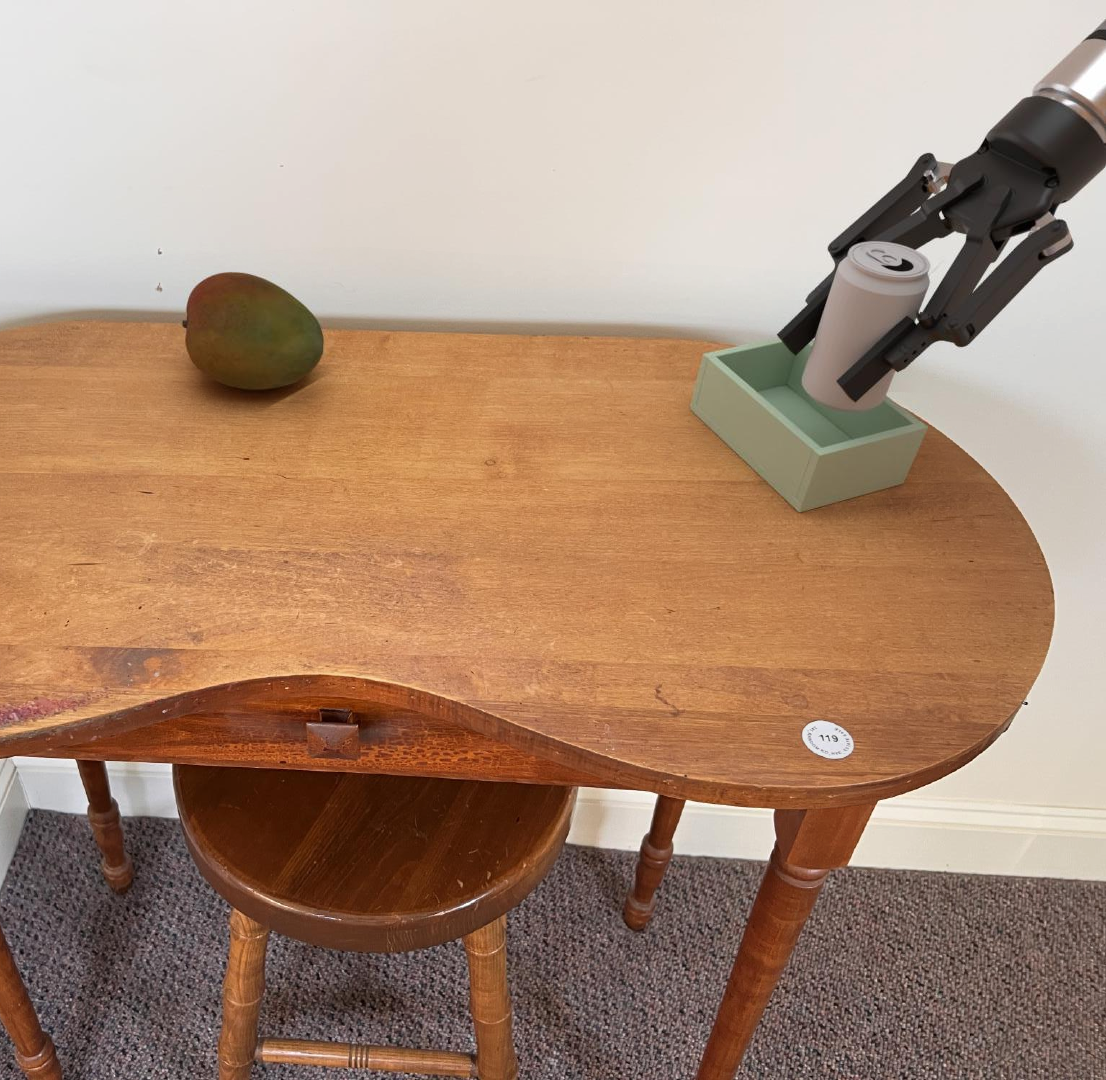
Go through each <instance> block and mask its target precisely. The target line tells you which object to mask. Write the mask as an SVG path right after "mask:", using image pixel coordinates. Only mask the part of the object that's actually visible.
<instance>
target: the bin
mask: <svg viewBox="0 0 1106 1080" xmlns="http://www.w3.org/2000/svg"><path fill="white" fill-rule="evenodd" d="M813 342H814V339H813V340H812V341H811V342H810V343H809V344H808V345H806V346H805V347H804V348H803V349H802V350H801V351H800V352H799V353H798V354H797V355H796V356H795V355H794V354H793V353H792V352H790V351H789V349H788V348H787V347H786V346H785V344H784V343H783V342H782V341H781V340H780V338H779V337H778V336H777V337H774V338H769V339H764V340H759V341H755V342H750V343H747V344H746V343H745V344H742V345H737V346H733V347H728V348H723V349H719V350H715V351H710V352H705V353H702V357H701V361H700V365H699V369H698V373H697V377H696V380H695V385H694V389H693V392H692V396H691V397H692V398H691V401H690V405H689V410H690V411H691V412H692V413H693V414H695V416H697V418H698V419H700V420H701V421H702V422H703V423H704V425H706V426H707V427H708V428H709V429H710V430H711V431H712V432H714V434H715V435H716V436H718V438H720V440H722V441H723V443H725V444H726V445H727V446H728V447H729V448H730V449H731V450H732V451H733V452H734V453H735V454H736V455H738V457H740V458H741V459H742V460H743V461H744V462H745V463H746V464H747V465H748V467H750V468H751V469H752V470H753V471H754V472H755V473H756V474H757V475H759V476H760V477H761V478H762V479H763V480H764V481H765V482H766V483H767V484H768V485H769V486H770V487H771V488H773V490H774V491H776V492H777V493H778V495H780V496H781V498H783V499H784V500H785V501H786V502H787V503H788V504H789V505H791V507H792V508H793V509H794V510H795V511H796V512H798V513H803V512H807V511H811V510H814V509H818V508H821V507H826V506H828V505H832V504H835V503H839V502H842V501H846V500H849V499H854V498H858V497H860V496H864V495H868V494H872V493H875V492H878V491H882V490H885V489H889V488H893V487H896V486H901V485H903V484H904V482H905V481H906V478H907V476H908V474H909V472H910V469H911V467H912V465H913V463H914V461H915V458H916V456H917V454H918V452H919V449H920V447H921V445H922V443H923V440H924V438H925V436H926V433H927V431H928V429H929V426H927V424H925V423H924V422H922V421H920V419H918V418H916V416H915V415H913V414H911V413H910V412H909V411H907V409H905V408H904V407H902V406H901V405H900V404H898V403H897V402H895V401H894V400H893V399H891V398H890V397H889V396H888V395H886V396H885V399H884V400H883V402H882V403H881V404H880V405H878V406H876V407H874V408H872V409H868V410H866V411H864V412H860V413H843V412H838V411H834V410H831V409H828V408H826V407H824V406H822V405H820V404H819V403H817V402H816V401H815V400H813V399H812V397H811V396H810V395H809V394H808V393H807V392H806V391H805V389H804V388H803V385H802V376H803V373H804V370H805V367H806V364H807V361H808V358H809V355H810V351H811V348H812V345H813Z"/></svg>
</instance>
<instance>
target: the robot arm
mask: <svg viewBox="0 0 1106 1080" xmlns="http://www.w3.org/2000/svg"><path fill="white" fill-rule="evenodd" d="M1105 168H1106V18H1105V19H1104V20H1103V21H1102V22H1101V23H1100V24H1099V25H1098V26H1097V27H1096V28H1095V29H1094V30H1093V31H1092V32H1091V33H1090V34H1089V35H1087V37H1085V38H1084V39H1083V40H1082V41H1081V42H1080V43H1079V44H1077V45H1076V46H1075V48H1073V49H1072V50H1071V51H1070V52H1069V53H1068V54H1067V55H1066V56H1065V57H1063V58H1062V60H1060V62H1058V64H1056V65H1055V66H1054V67H1053V68H1052V69H1051V70H1050V71H1049V72H1048V73H1046V75H1045V76H1043V78H1042V79H1040V80H1039V81H1038V82H1037V83H1036V84H1035V85H1034V86H1033V88H1032V90H1031V96H1027V97H1023V98H1022V99H1020V101H1019V102H1018V103H1016V105H1014V107H1012V108H1011V109H1010V110H1009V111H1008V112H1007V113H1006V114H1005V115H1004V116H1003V117H1002V118H1001V119H1000V120H999V121H997V123H996V124H995V125H994V126H993V127H992V128H991V129H989V131H988V132H987V134H986V135H985V137H984V138H983V141H982V143H981V144H980V146H979V147H978V149H977V150H976V151H974V152H973V153H971V154H970V155H968V156H966V157H964V158H962V159H960V160H958V161H957V162H956V163H950V162H943V161H938V160H937V159H936V157H935V155H934V154H933V153H932V152H925V153H923V154H922V155H920V156H919V157H918V158H917V160H916V161H915V163H914V164H913V166H912V167H911V169H910V170H909V171H908V173H907V174H906V176H905V177H904V178H903V179H902V180H901V181H899V182H898V183H897V184H896V185H895V186H894V187H892V188H891V189H890V190H889V191H888V192H887V193H885V195H883V196H882V197H881V198H880V199H879V200H877V202H875V203H874V204H873V205H872V206H871V207H869V208H868V210H866V211H865V212H864V213H862V215H861V216H860V217H858V218H857V219H856V220H855V221H854V222H853V223H851V224H850V225H849V226H848V227H847V228H846V229H845V230H843V231H842V232H841V233H840V234H839V235H838V236H836V237H835V238H834V239H833V240H832V241H831V242H830V243H829V244H828V245H827V251H828V253H829V254H830V257H831V259H832V261H833V262H834V267H833V269H832V271H831V272H830V273H829V274H828V275H827V276H826V277H825V278H824V279H823V280H822V281H821V282H820V283H819V284H818V285H817V286H816V287H815V288H813V290H811V291H810V293H808V294H807V296H806V298H805V300H804V301H805V303H806V306H805V307H803V308H802V309H801V310H800V311H799V312H798V313H797V314H796V315H795V316H794V317H793V318H792V319H791V320H789V322H788V323H787V324H786V325H785V326H784V327H783V328H781V330H780V331H779V332H778V333H777V334H776V336H777V338H778V337H779V338H780V340H781V341H782V342H783V343H784V344H785V346H786V347H787V348H788V349H789V351H790V352H792V353H793V354H794V355H795V356H796V355H797V354H798V353H799V352H800V351H801V350H802V349H803V348H804V347H805V346H806V345H808V344H809V343H810V342H811V341H812V340H814V339H815V336H816V333H817V330H818V327H819V324H820V321H821V318H822V314H823V311H824V308H825V305H826V302H827V299H828V296H829V293H830V290H831V287H832V284H833V281H834V277H835V274H836V271H837V268H838V265H839V263H840V262H841V261H842V260H843V259H844V258H846V257H847V255H848V252H849V249H850V248H851V247H852V246H854V245H856V244H858V243H862V242H870V241H880V242H889V243H895V244H899V245H903V246H906V247H909V248H911V249H914V250H916V251H917V250H918V249H920V248H922V247H923V246H925V245H926V244H928V243H930V242H931V241H933V240H935V239H944V238H946V237H948V236H950V235H951V234H953V233H957V234H961V235H965V242H964V244H963V246H962V247H961V248H960V250H959V252H958V254H957V255H956V257H955V259H954V260H953V261H952V264H950V267H949V268H948V270H947V271H946V273H945V275H944V276H943V277H942V279H941V281H940V282H939V284H938V286H937V288H936V289H935V291H934V292H933V294H932V296H931V297H930V299H929V300H928V302H927V304H926V305H925V307H924V308H923V310H922V311H919V312H918V311H916V314H915V315H916V320H917V321H918V322H917V323H916V320H915V321H914V320H913V319H911V318H910V317H908V316H906V317H905V318H904V319H902V320H901V321H900V322H899V323H898V324H896V325H895V326H894V327H893V328H892V329H891V330H890V331H889V332H888V333H887V334H886V335H885V336H884V337H883V338H882V339H880V340H879V341H878V342H877V343H876V344H875V345H874V346H873V347H872V348H871V349H870V350H869V351H868V352H867V353H865V354H864V355H863V356H862V357H861V358H860V359H859V360H858V361H857V362H856V363H855V364H854V365H853V366H852V367H851V368H849V369H848V370H847V371H846V372H845V373H844V374H843V375H842V376H841V377H840V378H839V379H838V380H837V381H836V382H837V383H838V384H839V386H840V387H841V388H842V389H843V391H844V392H845V393H846V395H847V396H848V397H849V398H850V399H851V400H853V401H854V402H855V403H856V402H857V401H858V400H859V399H860V398H861V397H862V396H863V395H864V394H865V393H866V392H868V391H869V390H870V389H871V388H872V387H873V386H874V385H875V384H876V383H877V382H878V381H879V380H881V379H882V378H883V377H884V376H885V375H886V374H887V373H888V372H889V371H890V370H891V369H894V370H895V373H899V372H901V371H903V370H905V369H906V368H908V367H909V366H910V365H911V364H912V363H913V362H914V361H915V360H916V359H917V358H918V357H919V356H921V355H922V354H923V353H924V352H925V351H926V350H927V349H928V348H929V347H931V345H933V344H934V343H936V342H947V343H951V344H954V346H956V348H957V347H958V348H965V347H968V345H970V344H971V343H972V342H973V341H974V340H975V339H976V338H977V337H978V336H979V335H980V334H981V333H982V332H983V330H985V329H986V327H987V326H988V325H989V324H990V323H991V322H992V321H993V320H994V319H995V318H996V317H998V315H999V314H1000V313H1001V312H1002V311H1003V310H1004V308H1006V307H1007V306H1008V305H1009V304H1010V303H1011V302H1012V301H1013V300H1014V298H1015V297H1017V295H1018V294H1019V293H1020V292H1021V291H1022V290H1023V289H1024V288H1025V287H1026V286H1027V285H1028V284H1029V283H1030V282H1031V281H1032V280H1033V279H1034V278H1035V277H1036V276H1037V275H1038V273H1040V271H1041V270H1043V268H1044V267H1045V266H1047V265H1049V264H1051V263H1053V262H1054V261H1056V260H1057V259H1059V258H1061V257H1062V256H1064V255H1066V254H1067V253H1069V252H1070V251H1071V250H1072V249H1073V248H1074V245H1075V242H1074V240H1073V237H1072V234H1071V231H1070V229H1069V226H1068V223H1067V222H1066V220H1064V219H1061V218H1058V219H1057V218H1056V217H1055V215H1056V212H1057V209H1058V208H1059V207H1060V206H1061V205H1062V204H1065V203H1068V202H1070V201H1071V200H1072V199H1073V198H1074V197H1075V196H1076V195H1077V194H1078V193H1079V192H1081V191H1082V190H1083V189H1084V188H1085V187H1086V186H1087V185H1088V184H1089V183H1090V182H1091V181H1093V179H1095V178H1096V177H1097V176H1098V175H1099V174H1100V173H1101V172H1102V171H1103V170H1104V169H1105ZM945 185H946V187H945V188H944V189H941V188H942V187H943V186H945ZM932 194H933V196H932ZM940 214H942V215H943V216H942V217H943V218H942V217H941V215H940ZM1025 233H1028V234H1027V236H1026V237H1025V238H1024V239H1023V240H1021V241H1020V242H1019V244H1017V245H1016V246H1015V247H1014V248H1013V249H1012V250H1011V251H1010V252H1009V254H1008V255H1006V257H1005V258H1004V259H1002V261H1001V262H1000V263H999V264H998V265H997V266H996V267H995V268H994V269H993V270H992V271H991V272H990V273H989V274H988V276H987V277H986V278H985V279H983V281H982V282H981V283H980V281H981V280H982V278H983V276H984V275H985V274H986V272H987V270H988V268H989V267H990V266H991V264H994V263H996V262H997V260H998V259H999V257H1000V256H1001V254H1002V253H1003V251H1004V249H1005V248H1006V246H1007V244H1008V243H1009V241H1010V240H1011V238H1014V237H1016V236H1019V235H1022V234H1025ZM979 283H980V284H979Z"/></svg>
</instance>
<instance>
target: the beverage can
mask: <svg viewBox="0 0 1106 1080" xmlns="http://www.w3.org/2000/svg"><path fill="white" fill-rule="evenodd" d="M930 269H931V262H930V260H929V259H928V258H927V257H926V256H925V255H924V254H922V253H921V252H919V251H918V250H917V249H916V250H914V249H911V248H909V247H906V246H903V245H899V244H895V243H889V242H880V241H870V242H862V243H858V244H856V245H854V246H852V247H851V248H850V249H849V252H848V255H847V257H846V258H844V259H843V260H842V261H841V262H840V263H839V265H838V268H837V271H836V274H835V277H834V281H833V284H832V287H831V290H830V293H829V296H828V299H827V302H826V305H825V308H824V311H823V314H822V318H821V321H820V324H819V327H818V330H817V333H816V336H815V338H814V339H813V340H814V342H813V345H812V348H811V351H810V355H809V358H808V361H807V364H806V367H805V370H804V373H803V376H802V385H803V388H804V389H805V391H806V392H807V393H808V394H809V395H810V396H811V397H812V399H813V400H815V401H816V402H817V403H819V404H820V405H822V406H824V407H826V408H828V409H831V410H834V411H838V412H843V413H860V412H864V411H866V410H868V409H872V408H874V407H876V406H878V405H880V404H881V403H882V402H883V400H884V399H885V396H887V394H888V391H889V389H890V386H891V383H892V381H893V379H894V376H895V374H896V371H895V370H894V369H891V370H890V371H889V372H888V373H887V374H886V375H885V376H884V377H883V378H882V379H881V380H879V381H878V382H877V383H876V384H875V385H874V386H873V387H872V388H871V389H870V390H869V391H868V392H866V393H865V394H864V395H863V396H862V397H861V398H860V399H859V400H858V401H857V402H856V403H855V402H854V401H853V400H851V399H850V398H849V397H848V396H847V395H846V393H845V392H844V391H843V389H842V388H841V387H840V386H839V384H838V383H837V382H836V381H837V380H838V379H839V378H840V377H841V376H842V375H843V374H844V373H845V372H846V371H847V370H848V369H849V368H851V367H852V366H853V365H854V364H855V363H856V362H857V361H858V360H859V359H860V358H861V357H862V356H863V355H864V354H865V353H867V352H868V351H869V350H870V349H871V348H872V347H873V346H874V345H875V344H876V343H877V342H878V341H879V340H880V339H882V338H883V337H884V336H885V335H886V334H887V333H888V332H889V331H890V330H891V329H892V328H893V327H894V326H895V325H896V324H898V323H899V322H900V321H901V320H902V319H904V318H905V317H906V316H908V317H910V318H911V319H913V320H914V321H915V322H916V320H917V318H916V315H915V314H916V311H918V312H919V313H920V311H921V307H922V305H923V303H924V300H925V297H926V295H927V293H928V289H929V287H930V283H931V279H930V276H929V274H928V273H929V271H930Z"/></svg>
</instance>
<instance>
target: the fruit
mask: <svg viewBox="0 0 1106 1080" xmlns="http://www.w3.org/2000/svg"><path fill="white" fill-rule="evenodd" d="M185 311H186V320H185V319H183V320H182V328H184V329H185V337H184V341H185V343H184V344H185V349H186V352H187V354H188V356H189V358H190V361H191V362H192V364H193V365H194V366H195V367H196V368H197V369H198V370H199V371H200V372H202V373H203V374H204V375H205V376H206V377H208V378H209V379H212V380H213V381H216V382H218V383H219V384H223V385H225V386H229V387H232V388H236V389H242V390H255V391H256V390H270V389H278V388H281V387H287V386H289V385H292V384H294V383H295V382H297V381H299V380H301V379H303V378H304V377H306V376H307V375H308V374H310V373H311V372H312V371H313V370H314V369H315V368H316V367H317V366H318V364H319V362H320V361H321V359H322V357H323V354H324V348H325V347H324V346H325V345H324V344H325V341H324V334H323V330H322V326H321V325H320V322H319V320H318V319H317V318H316V317H315V315H314V314H313V312H311V310H309V308H308V307H307V306H306V305H305V304H303V302H301V301H300V300H299V299H298V298H296V297H295V296H293V294H291V293H289V291H288V290H285V289H284V288H282V287H281V286H279V285H277V284H276V283H274V282H272V281H270V280H268V279H266V278H263V277H260V276H257V275H254V274H251V273H247V272H239V271H238V272H237V271H227V272H218V273H215V274H212V275H210V276H208V277H205V278H204V279H202V280H201V281H199V283H198V284H196V285H195V286H194V288H193V289H192V290H191V292H190V293H189V296H188V298H187V303H186V308H185Z"/></svg>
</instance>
